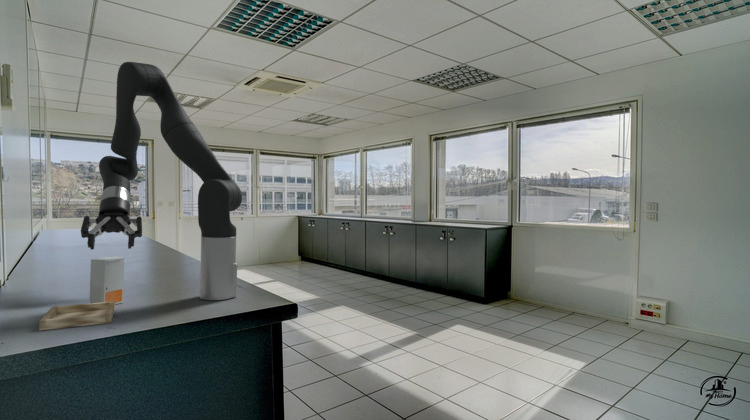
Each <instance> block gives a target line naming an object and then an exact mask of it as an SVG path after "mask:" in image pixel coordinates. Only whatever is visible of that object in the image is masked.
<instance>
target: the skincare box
mask: <svg viewBox="0 0 750 420" xmlns="http://www.w3.org/2000/svg"><path fill="white" fill-rule="evenodd" d="M89 273H90V274H89V277H90V278H89V279H90V280H89V303H101V302H113V301H115V306H116V305H119V304H123V302H124V275H125V257H122V256H105V257H98V258H92V259H90V272H89Z"/></svg>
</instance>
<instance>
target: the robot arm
mask: <svg viewBox="0 0 750 420" xmlns="http://www.w3.org/2000/svg"><path fill="white" fill-rule="evenodd" d="M115 94H116V98H115V99H116V100H115V101H116V102H115V103H116V104H115V109H116V110H115V111H116V112H115V123H114V130H113V133H112V138H111V142H110V150H111V151H112V152H113V153H114V154H116V155H117V156H113V155H105V156H103V157H102V158H101V159H100V160H99V163H98V169H99V170H98V171H99V174H100V177H101V179H102V182H103V185H102V192H101V193H102V194H101V196H100V200H99V201H100V202H99V209H98V215H97V217H96V218H92V217H91V218H90V216H88V215H86V216H84V217H83V221H82V224H81V228H80V236H81V238H83V239H84V238H87V243H86V244H87V247H88V248H90V250H94V249H95V245H96V244H95V243H96V238H98V237H99V236H101V235H103V234H104V233H107V234H108V233H118V234H119V233H123V235H124V236H127V237H128V241H127V242H128V243H127V249H132V247H134V246H135V239H136V238H142V237H143V223H142V222H143V221H142V216H137V217H136V218H131V216H130V214H131V213H130V212H131V201H132V199H131V181H133V180H135V179H136V178H137V176H138V173H139V169H138V167H139V166H138V162H137V161H138V159H137V155H138V153H137V152H138V147H139V145H140V140H141V136H142V134H141V133H142V131H141V126H140V123H139V120H138V119H137V116H136V113H135V110H134V105H135V104H134V103H135V100H136V98H137V96H138V97H150V98H151V99H153V101H154V102H155V104H156V105H157V106H158V108H159V110H160V113H161V115H160V116H161V117H160V133H161V136H162V138H163V140H164V141H165V143H166V144H167V146H168V147H169V149H170V150H171V152H172V153H173V155H175V156H176V157H177V159H179V161H181V162H182V163H183V164H184V165H186V166H187V167H188V168H189V169H190V170H192V171H193V172H194V173H195V174H196V175H197V176H198V177H199V178H200V180H201V181H202V182H203V183H202V184H201V186H200V188H199V190H198V194H197V221H198V227H199V229H200V233H201V234H200V269H199V271H200V272H199V275H200V277H199V278H200V279H199V299H201V300H205V301H222V300H228V299H232V298H237V293H238V292H237V288H238V287H237V286H238V263H237V262H236V260H237V259H236V257H237V227H236V225H234V224H233V223H232V221H231V216H230V215H231V214H230V213H231V212H233V211H237V210H238V209H239V208H240V206H241V204H242V202H243V195H242V191H241V188H240V186H239V185H238V184H237V183H236V181H235V180H234V179H233V178H232V176H230V175H229V173H228V172H227V171H226V170H225V168H224V166H222V164H221V163H220V162H219V161H218V159H217V158H216V156H215V154H214V152H213V151H212V149H211V148H210V146H209V145H208V143H207V141H206V140H205V139H204V137H203V136H202V134H201V132H200V131H199V130H198V128H197V127H196V124H194V121H192V120H191V118H190V117H189V115H188V114H187V112H186V110H185V109H184V107H183V105H182V104H181V103H180V101H179V100H178V97H177V95H176V94H175V92H174V91H173V89H172V86H171V84H170V83H169V81H168V79H167V77H166V76H165V73H164V72H163V71H162V69H161V68H159V67H158V66H156V65H154V64H150V63H142V62H136V61H135V62H134V61H125V62H123V63H121V64H120V66H119V67H118V71H117V78H116V93H115ZM118 156H119V157H118ZM94 224H95V226H93V225H94ZM132 224H133V226H134V227H136V230H135V229H133V228H132V227H131V226H130V225H132ZM92 226H93V228H92V229H90V228H91V227H92ZM89 229H90V230H89Z"/></svg>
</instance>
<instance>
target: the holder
mask: <svg viewBox="0 0 750 420" xmlns="http://www.w3.org/2000/svg"><path fill="white" fill-rule="evenodd" d="M115 310H116V305H115V301H113V302H101V303H90V302H88V303H80V304H69V305H68V304H67V305H58V306H57V305H54V306H51V307H50V308H49V309H48V311H47V312H46V313H45V314H44V315H43V316H42V317H41V319H40V320H39V321H38V323H39V324H38V327H39V328H38V331H47V330H57V329H65V328H67V329H68V328H76V327H83V326H93V325H95V326H96V325H104V324H111V323H112V320H113V316H114V314H115Z"/></svg>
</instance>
